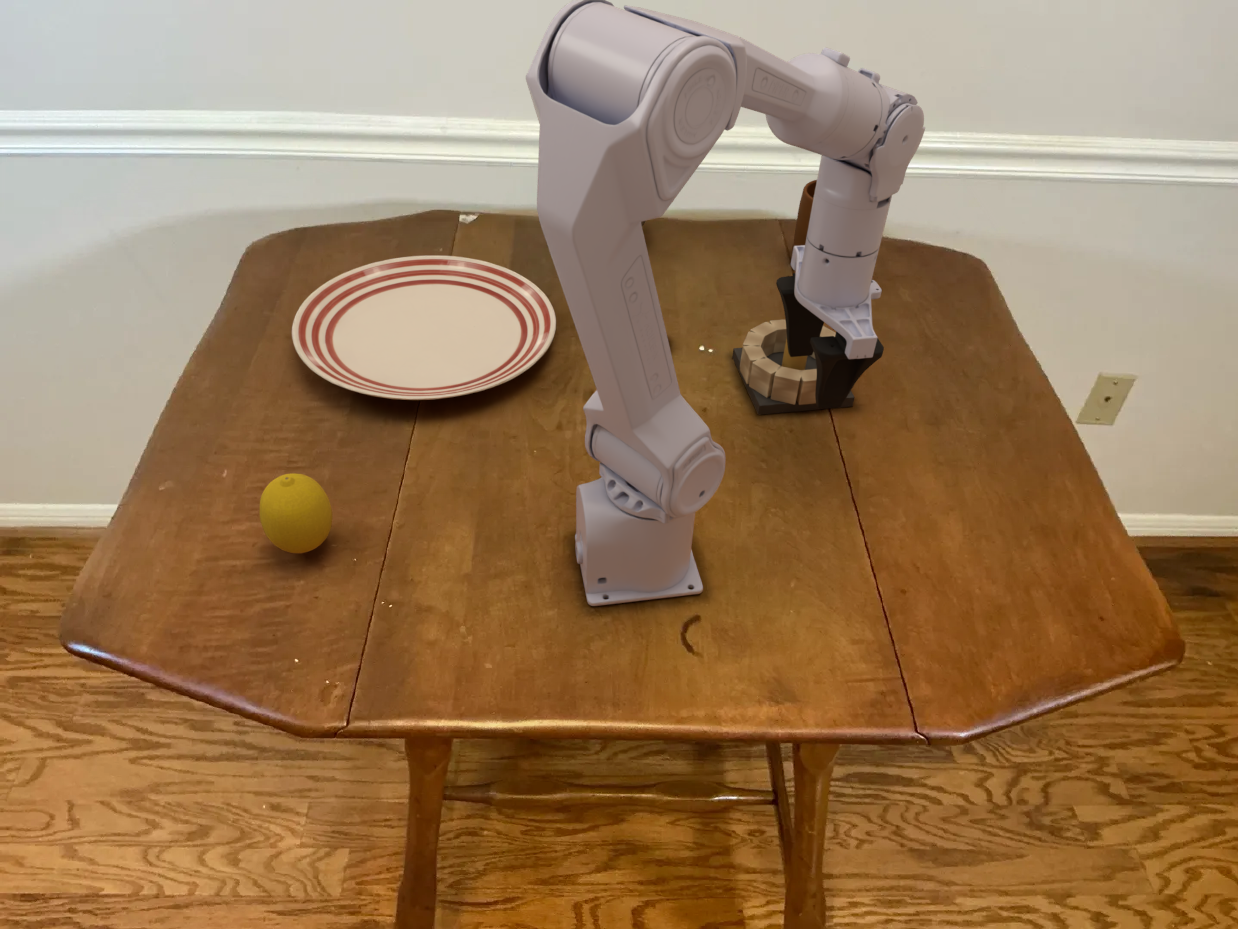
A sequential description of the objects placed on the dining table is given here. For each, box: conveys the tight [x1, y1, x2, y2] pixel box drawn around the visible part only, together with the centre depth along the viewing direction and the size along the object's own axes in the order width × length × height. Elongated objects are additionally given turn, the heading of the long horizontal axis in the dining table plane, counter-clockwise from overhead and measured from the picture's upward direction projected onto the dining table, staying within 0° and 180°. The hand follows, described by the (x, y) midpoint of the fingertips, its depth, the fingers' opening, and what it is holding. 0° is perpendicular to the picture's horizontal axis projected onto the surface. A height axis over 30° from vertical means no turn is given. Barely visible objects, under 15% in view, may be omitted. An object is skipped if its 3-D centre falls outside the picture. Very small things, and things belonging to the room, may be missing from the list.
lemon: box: [258, 472, 333, 554], centre depth 77 cm, size 6×6×8 cm
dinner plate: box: [291, 255, 557, 401], centre depth 101 cm, size 28×27×3 cm
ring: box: [740, 318, 836, 405], centre depth 97 cm, size 11×11×3 cm
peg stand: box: [731, 338, 856, 416], centre depth 97 cm, size 10×10×6 cm
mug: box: [791, 179, 817, 255], centre depth 113 cm, size 12×8×9 cm, turn 1°
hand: (813, 379), depth 83 cm, fingers open, 7 cm apart
